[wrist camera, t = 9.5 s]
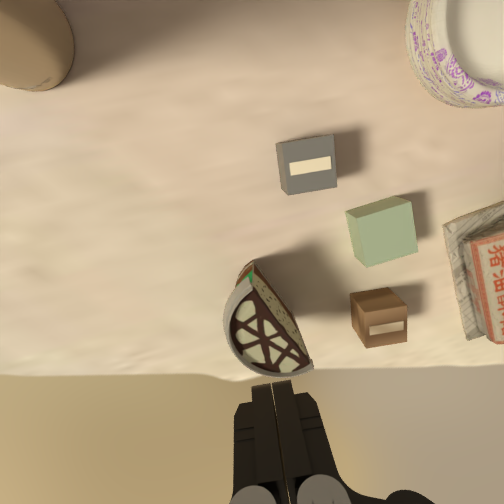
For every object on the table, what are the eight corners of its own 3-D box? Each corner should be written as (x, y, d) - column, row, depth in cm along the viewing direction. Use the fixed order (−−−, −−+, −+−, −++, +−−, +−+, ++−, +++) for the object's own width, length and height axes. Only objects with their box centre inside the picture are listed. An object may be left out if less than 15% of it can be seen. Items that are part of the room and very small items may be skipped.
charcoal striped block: (275, 143, 35) (281, 143, 30) (320, 135, 35) (334, 134, 30) (281, 188, 36) (288, 195, 31) (324, 181, 36) (337, 187, 31)
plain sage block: (344, 211, 38) (356, 218, 34) (393, 195, 37) (411, 201, 33) (354, 255, 40) (366, 267, 36) (400, 241, 39) (418, 251, 35)
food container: (205, 277, 39) (195, 319, 30) (246, 250, 38) (249, 285, 29) (260, 344, 43) (267, 401, 34) (298, 321, 42) (316, 372, 33)
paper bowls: (381, 113, 34) (422, 105, 27) (401, -66, 29) (458, -138, 22) (516, 111, 35) (594, 103, 27) (559, -65, 30) (668, -135, 22)
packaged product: (566, 331, 39) (487, 358, 40) (532, 311, 44) (462, 336, 45) (556, 198, 33) (464, 234, 34) (518, 191, 38) (438, 223, 39)
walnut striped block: (349, 293, 41) (365, 313, 36) (387, 286, 41) (407, 306, 36) (351, 325, 43) (366, 349, 38) (388, 319, 43) (407, 342, 38)
